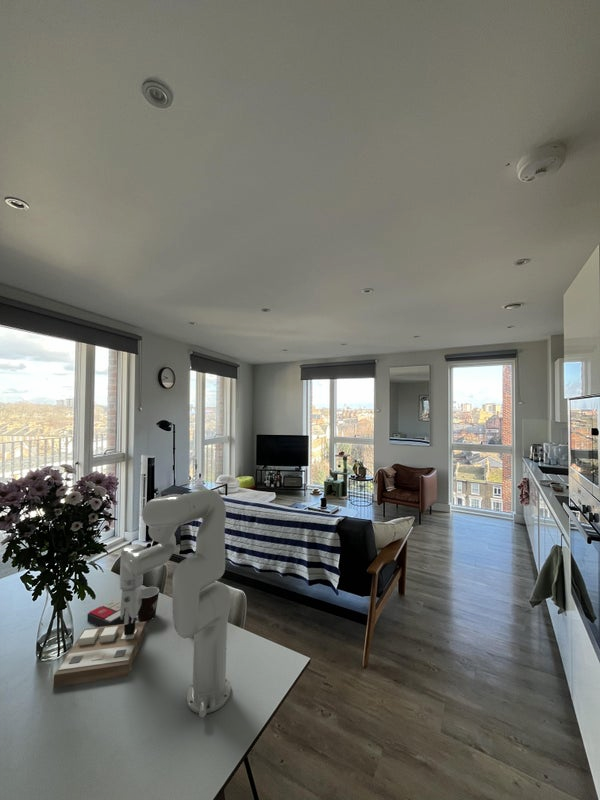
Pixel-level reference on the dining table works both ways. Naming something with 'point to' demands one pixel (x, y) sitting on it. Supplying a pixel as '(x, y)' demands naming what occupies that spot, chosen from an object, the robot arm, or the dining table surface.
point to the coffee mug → (148, 604)
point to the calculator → (106, 614)
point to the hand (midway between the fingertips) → (129, 633)
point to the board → (100, 658)
